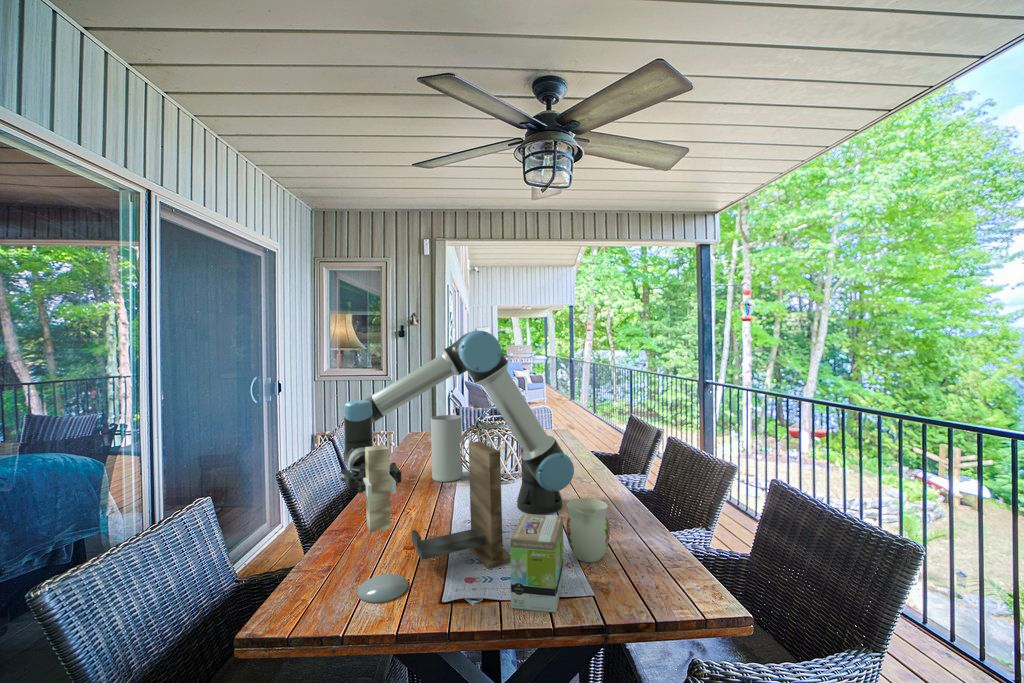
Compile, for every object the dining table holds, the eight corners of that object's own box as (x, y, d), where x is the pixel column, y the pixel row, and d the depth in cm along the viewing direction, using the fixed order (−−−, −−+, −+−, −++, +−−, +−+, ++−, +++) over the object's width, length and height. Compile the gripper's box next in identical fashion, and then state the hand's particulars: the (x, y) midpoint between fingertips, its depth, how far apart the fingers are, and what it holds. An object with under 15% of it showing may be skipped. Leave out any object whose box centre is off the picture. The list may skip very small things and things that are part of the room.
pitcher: (606, 539, 127) (605, 490, 127) (613, 572, 110) (612, 514, 110) (566, 539, 129) (565, 489, 129) (567, 571, 111) (565, 514, 111)
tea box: (558, 614, 94) (556, 541, 94) (509, 609, 96) (507, 538, 96) (564, 576, 108) (562, 513, 108) (522, 573, 110) (520, 511, 110)
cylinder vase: (460, 482, 184) (459, 419, 184) (429, 482, 184) (427, 420, 184) (464, 473, 196) (462, 414, 196) (435, 473, 196) (433, 415, 196)
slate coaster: (408, 574, 111) (408, 571, 111) (407, 598, 101) (407, 596, 101) (360, 580, 109) (360, 577, 109) (354, 606, 98) (354, 603, 98)
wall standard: (488, 538, 130) (485, 439, 130) (513, 562, 116) (510, 450, 116) (407, 557, 120) (404, 450, 120) (424, 586, 106) (421, 464, 106)
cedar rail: (386, 521, 108) (384, 444, 108) (390, 528, 104) (388, 448, 104) (366, 525, 106) (365, 447, 106) (370, 532, 102) (368, 451, 102)
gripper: (398, 474, 125) (422, 500, 104) (329, 484, 117) (339, 514, 96) (398, 446, 125) (421, 466, 104) (328, 455, 117) (338, 478, 96)
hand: (382, 489), depth 100 cm, fingers closed on cedar rail, 4 cm apart
